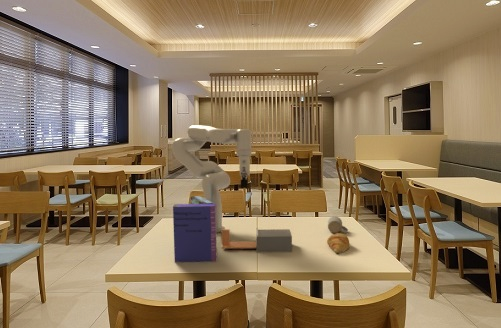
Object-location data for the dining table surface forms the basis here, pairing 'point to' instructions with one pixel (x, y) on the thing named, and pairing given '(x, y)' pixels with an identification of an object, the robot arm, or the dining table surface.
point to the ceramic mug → (336, 225)
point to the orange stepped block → (228, 244)
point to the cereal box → (195, 232)
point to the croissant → (338, 242)
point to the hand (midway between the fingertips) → (244, 186)
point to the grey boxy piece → (274, 240)
